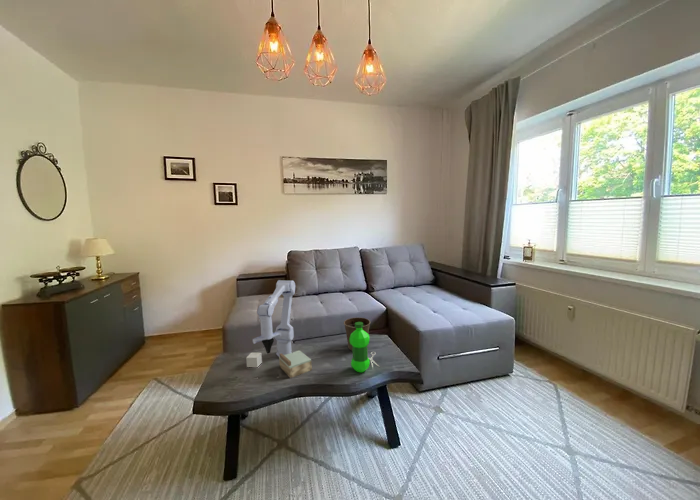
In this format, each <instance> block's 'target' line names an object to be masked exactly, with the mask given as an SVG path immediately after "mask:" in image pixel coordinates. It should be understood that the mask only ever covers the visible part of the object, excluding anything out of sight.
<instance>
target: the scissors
mask: <svg viewBox="0 0 700 500" xmlns="http://www.w3.org/2000/svg"><path fill="white" fill-rule="evenodd" d="M376 353H377V352H376V351H371V352H370V355H372V356H371V357H368V358H369V360H370V364H371V365H370V366H371V368H372V369H374V365H376V366H377V367H379V364H377V362H376V361H375V360H374V359H373V358H374V356H375V355H376ZM372 362H373V363H372Z"/></svg>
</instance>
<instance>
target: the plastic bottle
mask: <svg viewBox="0 0 700 500" xmlns="http://www.w3.org/2000/svg"><path fill="white" fill-rule="evenodd" d="M355 327H356V330H355V331H354V332H353V333H351V335H350V339H349V341H350V344H351V345H352V350H351V351H352V353H351V354H352V358H351V361H350V366H351V368H352V369H353V370H354V371H355V372H357V373H364V372H366V370H368V369H369V368H370V364H371V361H370V360H369V358H370V357H369V356H368V355H369V354H368V352H369V351H368V348H367V345H368V346H369V344H370V335H369V334H368V333H366V332H365V331H364V330H362V327H363V323H362V322H356V323H355Z"/></svg>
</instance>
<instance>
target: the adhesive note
mask: <svg viewBox="0 0 700 500" xmlns="http://www.w3.org/2000/svg"><path fill="white" fill-rule="evenodd" d="M262 354H263V353H262V352H250V353H249V354H248V355H247V356H246V357H245V358H246V359H245V360H246V368H247V367H258V366H259V365H260V364H261V363H262V364H263V355H262ZM262 364H261V365H262ZM261 365H260V366H261ZM260 366H259V367H260ZM259 367H258V368H259Z"/></svg>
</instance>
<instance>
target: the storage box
mask: <svg viewBox="0 0 700 500" xmlns="http://www.w3.org/2000/svg"><path fill="white" fill-rule="evenodd" d="M278 359H279V358H278ZM278 361H279V369H281V370H282V371H283V372H284V373H285V374H286V375H287V376H288V377H289V378H290V379H292V378H295V377H297V376H300V375H303V374H306V373H308V372H311V371H312V370H313V369H312V368H313V367H312V364H313V363H312V360H311V361H310V362H307V363H304V364H301V365H298V366H296V367H293V368H289V367H288V366H287V365H286V364H285V363H284V362H283V361H282V360H281V359H279V360H278Z"/></svg>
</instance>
